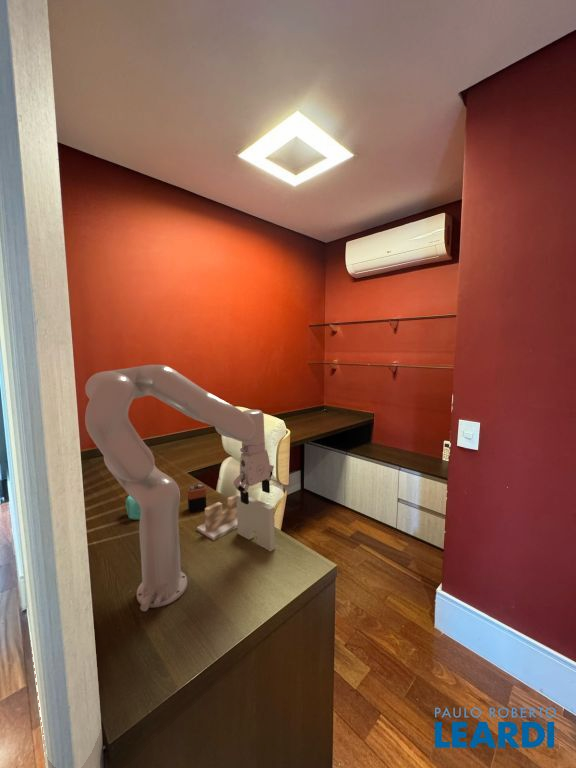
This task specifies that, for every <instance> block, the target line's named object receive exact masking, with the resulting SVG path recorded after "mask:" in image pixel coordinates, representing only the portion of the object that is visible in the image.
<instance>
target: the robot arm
mask: <svg viewBox="0 0 576 768" xmlns="http://www.w3.org/2000/svg"><path fill="white" fill-rule="evenodd" d="M84 386H85V387H84V391H85V395H86V396H87V398H88V399H89V400H88V403H87V405H86V409H85V414H84V415H85V416H84V422H85V427H86V431H87V433H88V435H89V438H90V439H91V440H92V442H93V443H94V444H95V445H96V447H97V449H98V450H99V451H100V453H101V454H102V455H103V461H104V465H105V466H106V468H107V470H108V471H109V472H110V473H111V475H112V476H113V477H114V478H115V479H116V481H117V482H118V483H119V484H120V486H121V487H122V488H123V489H124V491H125V492H126V493H127V494H128V496H129V495H130V496H131V497H132V498H133V499H134V500H135V501H136V503H137V504H138V505H139V506H140V510H141V516H140V519H139V524H138V526H139V527H138V529H139V531H138V532H139V536H138V537H139V549H140V562H141V563H140V565H141V580H142V582H141V583H140V584H139V585H138V588H137V590H136V600H137V602H138V603H139V604H140V607H139V609H140V610H141V611H142V612H146V611H148V610H149V608H160V607H164V606H166V605H167V606H168V605H169V604H171V603H174V602H175V601H176V600H177V599H179V598H180V597H181V596H182V595H183V594H184V593H185V591H186V589H187V587H188V578H187V577H188V576H187V575H186V574H185V573H184V572H183V571H182V570H181V567H182V566H181V549H180V530H179V511H180V510H179V509H180V508H179V507H180V500H181V493H180V492H181V491H180V488H179V485H178V484H177V482H176V481H175V480H174V479H173V478H172V477H171V476H169V475H167V474H166V473H164V472H162V471H161V470H159V469H158V467H157V466H156V465H155V463H156V461H155V457H154V454H153V452H152V451H151V449H150V448H149V446H148V445H147V444H146V443H145V442H144V440H143V439H142V438H141V436H140V435H139V433H138V432H137V430H136V428H135V427H134V426H133V424H132V423H131V420H130V417H129V411H130V406H131V404H132V402H133V400H134V399H139V398H143V397H146V396H151V397H154V398H156V399H158V400H159V401H161V402H163V403H165V404H166V405H168V406H170V407H172V408H173V409H175V410H177V411H179V412H181V413H182V414H183V415H185V416H186V417H188V418H191V419H193V420H196V421H197V422H198V421H199V422H200V423H204V424H207V425H210V426H213V427H214V428H215V431H216V432H217V433H218V434H219V435H221V436H222V437H226V438H228V439H233V440H236V441H239V442H241V448H239V449H240V451H239V452H240V459H239V460H240V461H239V474H238V476H236V478H235V479H234V480H233V486H234V487H235V489H236V490H238V492H239V493H240V496H241V502H242V503H245V504H249V497H250V496H249V492H248V489H249V488H250V487H252V486H255V485H257V484H259V483H261V491H262V492H265V493H267V494H270V493H271V489H270V488H271V487H270V482H271V480H272V477H273V471H274V467H275V466H274V465H273V464H270V457H269V454H268V449H267V448H266V443H265V442H266V441H265V438H266V437H265V417H264V412H263V411H262V410H260V409H246V410H244V411H242V410H241V409H239V408H238V407H235V406H234V405H233V404H230V403H229V402H226V401H225V400H223V399H221V398H219V397H218V396H217V395H214V394H212V393H211V392H208V391H207V390H205V389H203V388H202V387H201V386H199V385H198V384H196V383H195V382H194V381H192V380H191V379H189V378H187V377H186V376H184V375H183V374H181V373H180V372H178V371H177V370H175V369H174V368H172V367H170V366H168V365H165V364H147V365H146V364H145V365H140V366H133V367H128V368H126V367H125V368H120V369H113V370H106V371H100V372H96V373H94V374H93V375H91V376H90V377H89V378H88V380H87V381H86V384H85V385H84Z"/></svg>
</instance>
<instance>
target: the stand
mask: <svg viewBox="0 0 576 768" xmlns="http://www.w3.org/2000/svg"><path fill="white" fill-rule="evenodd" d="M238 494H240V492H237V493H235V494H234V495H231V496H229V497H227V508H225V509H223V503H222V502H220V501H217V502H215V503H213V504H210V505H208V506H206V508H205V510H204V517H205V518H204V520H205V522H204V523H203V524H201V525H198V526H196V531H197V532H199V533H201V534H202V535H204V536H205V537H207V538H208V539H210V540H211V541H216V540H217V539H219V538H221V537H223V536H225V535H227V534H228V533H231V532H233V531H234V530H236V529H238V527H237V495H238Z"/></svg>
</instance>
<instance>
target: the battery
mask: <svg viewBox="0 0 576 768" xmlns="http://www.w3.org/2000/svg"><path fill="white" fill-rule="evenodd" d="M186 491H187V506H188V507H187V508H188V512H189V514H190V513H196V512H197V513H198V512H201V511H205V508H206V507H207V493H206V492H207V489H206V487H205V485H204V484H203V483H199V484H198V485H191V486H189V487H187V489H186Z"/></svg>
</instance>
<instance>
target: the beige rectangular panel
mask: <svg viewBox="0 0 576 768" xmlns="http://www.w3.org/2000/svg"><path fill="white" fill-rule="evenodd" d="M237 494H238V493H237ZM237 527H238V528H237V534H238V535H240V537H243V538H245V539H247V540H249V541H250V540H251V539H253V538H254V533H257V535H256V536H257V542H256V543H257V545H258V546H260V547H261V548H264V549H265V550H267V551H268V552H272V551H274V550H275V549H276V544H275V543H276V541H275V538H276V537H275V536H276V535H275V507H274V505H273V506H272V505H270V504H267V503H266V502H262V501H261V500H258V499H255V498H254V497H250V496H249V504H245V503H242V502H241V496H240V494H238V495H237Z"/></svg>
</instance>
